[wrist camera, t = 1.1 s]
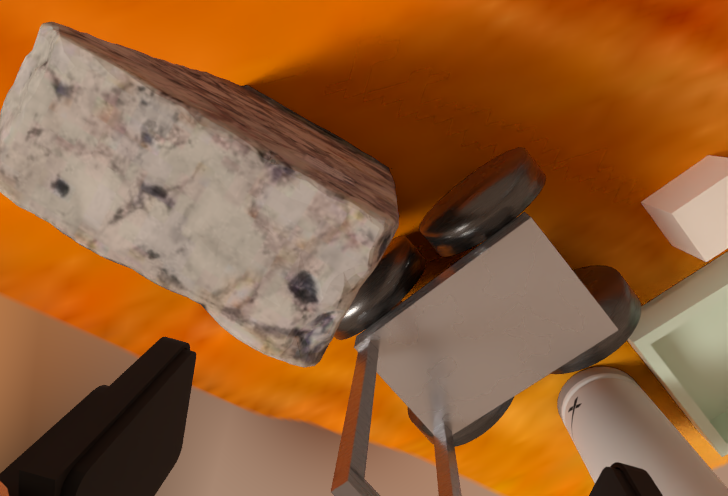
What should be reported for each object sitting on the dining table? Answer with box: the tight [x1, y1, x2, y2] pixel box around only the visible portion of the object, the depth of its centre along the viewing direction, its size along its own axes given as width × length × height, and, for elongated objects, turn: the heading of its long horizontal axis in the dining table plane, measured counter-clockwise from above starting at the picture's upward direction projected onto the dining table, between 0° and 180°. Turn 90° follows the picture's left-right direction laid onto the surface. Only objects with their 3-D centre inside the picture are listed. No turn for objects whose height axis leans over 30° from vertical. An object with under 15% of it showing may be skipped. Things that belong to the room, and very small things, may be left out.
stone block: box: [0, 22, 399, 367], centre depth 24 cm, size 13×7×20 cm, turn 65°
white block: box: [641, 155, 728, 262], centre depth 30 cm, size 5×4×4 cm
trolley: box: [331, 147, 641, 496], centre depth 25 cm, size 17×12×20 cm
